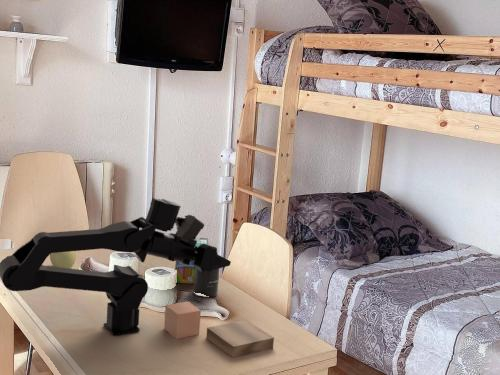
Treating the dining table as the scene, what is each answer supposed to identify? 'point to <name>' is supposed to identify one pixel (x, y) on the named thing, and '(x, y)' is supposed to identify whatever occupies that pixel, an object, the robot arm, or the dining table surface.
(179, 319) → the terracotta cube
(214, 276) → the supplement bottle
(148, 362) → the dining table surface
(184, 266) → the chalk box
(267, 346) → the walnut base
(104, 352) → the dining table surface
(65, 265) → the fruit
